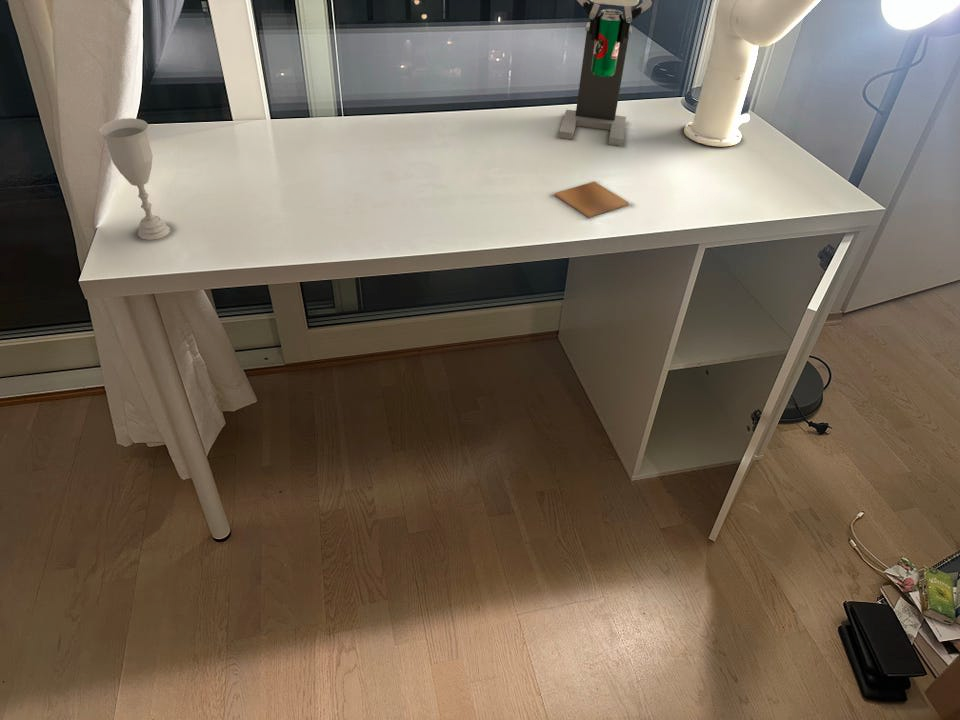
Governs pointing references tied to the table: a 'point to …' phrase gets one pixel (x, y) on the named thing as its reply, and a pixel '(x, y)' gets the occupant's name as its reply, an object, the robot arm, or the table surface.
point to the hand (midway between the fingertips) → (607, 39)
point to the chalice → (134, 166)
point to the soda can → (607, 43)
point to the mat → (591, 199)
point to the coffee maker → (597, 97)
